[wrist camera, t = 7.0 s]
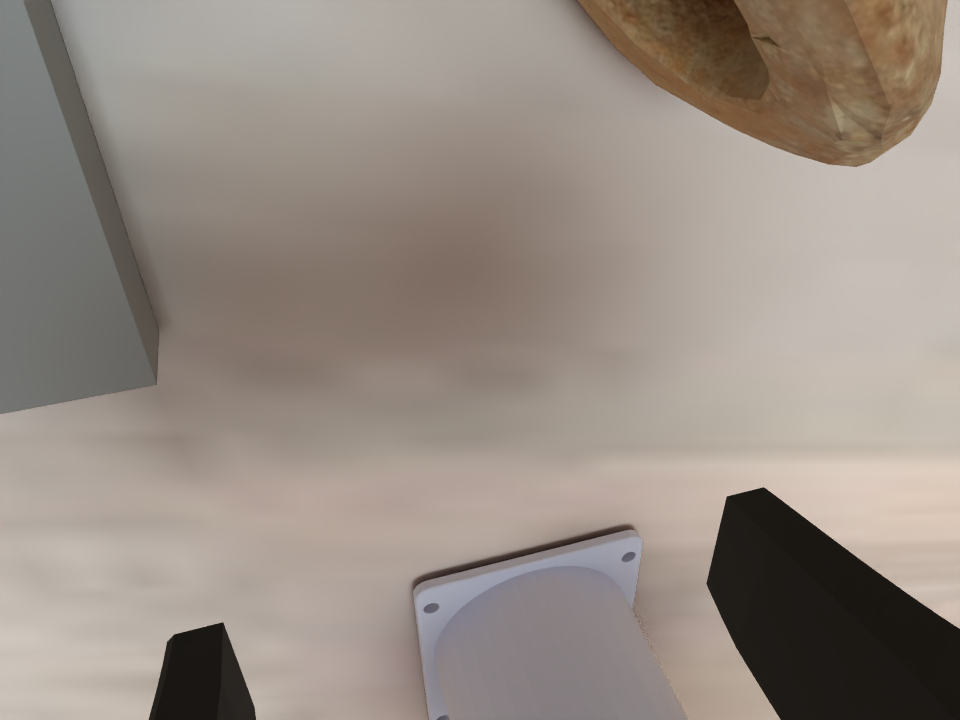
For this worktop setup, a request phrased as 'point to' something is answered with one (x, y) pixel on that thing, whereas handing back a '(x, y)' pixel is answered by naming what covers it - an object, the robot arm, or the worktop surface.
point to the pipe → (790, 66)
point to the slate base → (60, 235)
